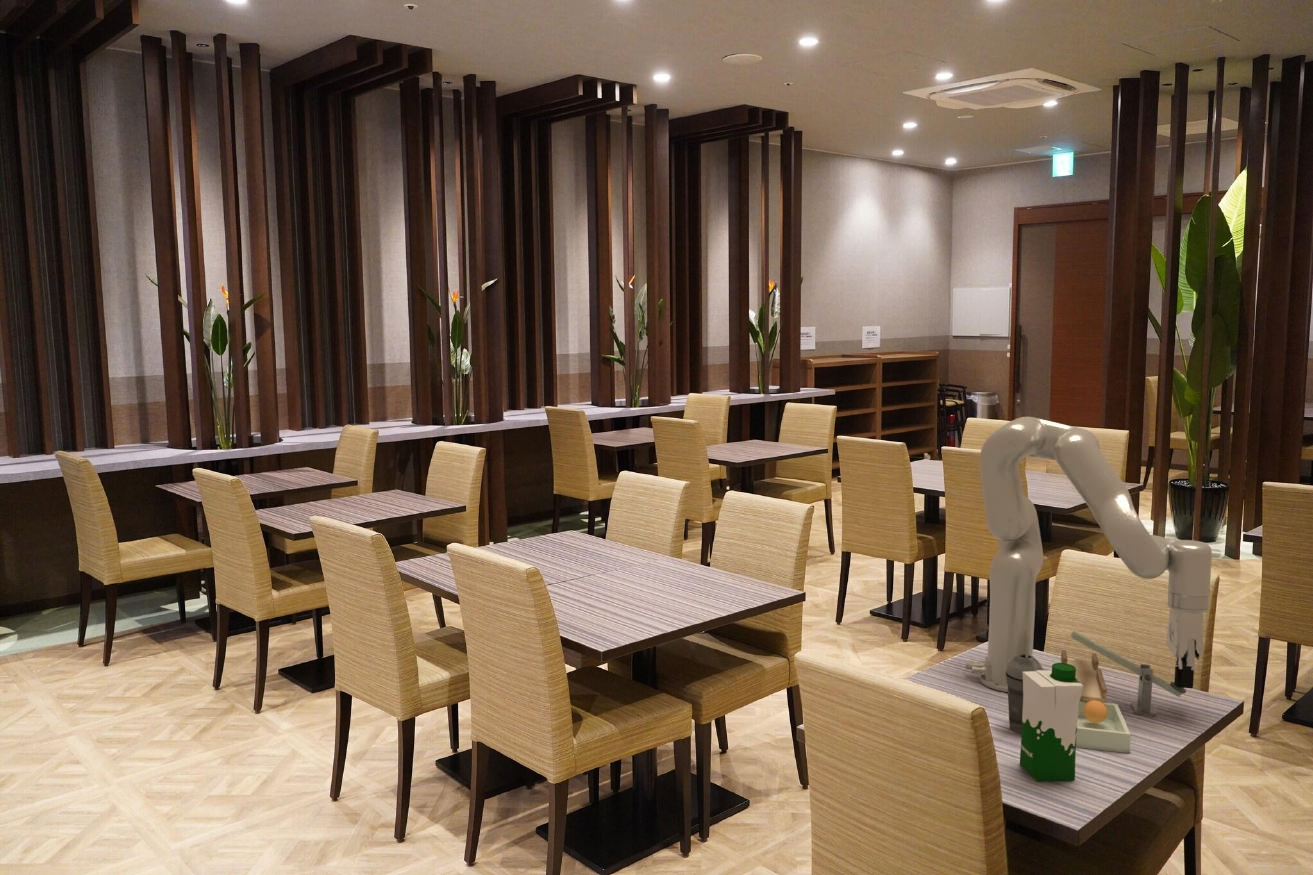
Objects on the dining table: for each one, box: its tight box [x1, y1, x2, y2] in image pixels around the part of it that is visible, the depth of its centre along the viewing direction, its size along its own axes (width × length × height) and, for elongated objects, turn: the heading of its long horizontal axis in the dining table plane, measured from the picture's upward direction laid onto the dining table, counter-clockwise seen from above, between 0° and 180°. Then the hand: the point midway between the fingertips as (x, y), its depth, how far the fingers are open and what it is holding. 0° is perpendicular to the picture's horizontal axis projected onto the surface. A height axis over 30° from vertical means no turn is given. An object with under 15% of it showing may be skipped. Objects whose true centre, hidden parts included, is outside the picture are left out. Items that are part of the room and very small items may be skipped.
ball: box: [1084, 700, 1107, 723], centre depth 198 cm, size 4×4×4 cm
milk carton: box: [1019, 662, 1083, 783], centre depth 178 cm, size 9×9×20 cm
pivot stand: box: [1130, 663, 1157, 718], centre depth 207 cm, size 4×5×10 cm
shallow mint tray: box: [1076, 700, 1132, 754], centre depth 196 cm, size 12×15×4 cm
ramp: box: [1060, 650, 1108, 703], centre depth 209 cm, size 7×16×10 cm, turn 164°
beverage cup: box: [1006, 636, 1044, 735], centre depth 196 cm, size 7×7×20 cm
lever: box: [1070, 630, 1187, 698], centre depth 208 cm, size 25×3×2 cm, turn 74°
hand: (1183, 686), depth 205 cm, fingers closed
